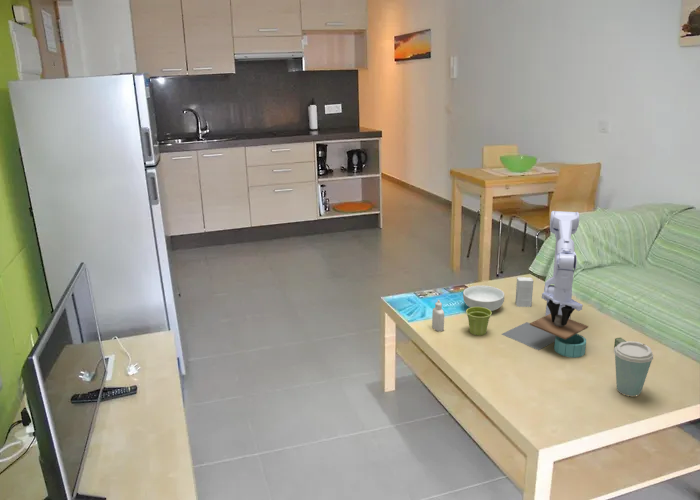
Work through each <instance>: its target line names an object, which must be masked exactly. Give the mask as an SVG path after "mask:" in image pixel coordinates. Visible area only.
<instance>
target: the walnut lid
mask: <svg viewBox="0 0 700 500" xmlns="http://www.w3.org/2000/svg"><path fill="white" fill-rule="evenodd" d="M529 323H530V325H531V326H534V327H536V328H539V329H541V330H543V331H546V332H548V333H551V334H553V335H555V336H558V337H560V338H563V339H567V338H569V337H571V336H573V335H575V334H579V333H581V332H583V331H584V330H586V329H588V328H589V325H586V324H583V323H580V322H579V321H576V320H573V319H571V318H570V319H568V322H567V324H566V325H564V326H563V325H562V315H555V320H554V322H552V317H551V314H549V315H547V316H545V315H544V316H543V317H540V318H539V319H536V320H534V321H532V322H529Z"/></svg>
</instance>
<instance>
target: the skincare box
mask: <svg viewBox="0 0 700 500" xmlns="http://www.w3.org/2000/svg"><path fill="white" fill-rule="evenodd" d="M515 285H516V286H515V287H516V289H515V300H514V301H515V305H516V307H519V308H520V307H522V308H524V307H525V308H527V307H528V308H529V307H530V308H531V307H532V306H533V305H532V303H533V291H534V280H533V277H524V276H522V277H521V276H519V277H518V276H517V277H516V284H515Z"/></svg>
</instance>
